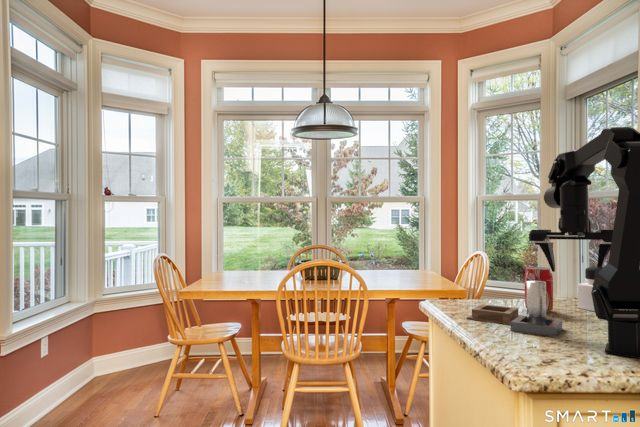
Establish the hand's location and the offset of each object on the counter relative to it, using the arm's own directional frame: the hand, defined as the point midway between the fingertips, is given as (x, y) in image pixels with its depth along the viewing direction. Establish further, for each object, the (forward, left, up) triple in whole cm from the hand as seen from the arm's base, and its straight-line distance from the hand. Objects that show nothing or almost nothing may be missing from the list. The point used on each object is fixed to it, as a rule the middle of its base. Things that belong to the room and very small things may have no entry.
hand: (575, 272), depth 100 cm
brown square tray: (-1, +18, -13) cm, 22 cm away
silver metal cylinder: (-8, +7, -13) cm, 16 cm away
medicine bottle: (+28, -2, -13) cm, 31 cm away
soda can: (+16, +11, -13) cm, 24 cm away
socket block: (-8, +7, -13) cm, 16 cm away
